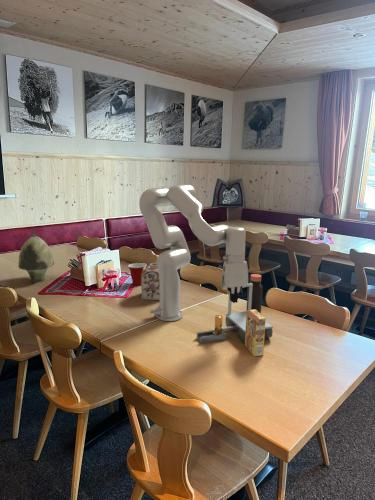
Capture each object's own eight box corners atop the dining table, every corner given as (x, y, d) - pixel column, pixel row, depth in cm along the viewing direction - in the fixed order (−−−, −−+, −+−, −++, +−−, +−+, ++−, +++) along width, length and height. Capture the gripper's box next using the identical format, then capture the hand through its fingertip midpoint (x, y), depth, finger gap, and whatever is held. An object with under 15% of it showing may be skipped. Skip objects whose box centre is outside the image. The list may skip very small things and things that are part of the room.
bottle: (263, 315, 175) (266, 275, 171) (255, 319, 170) (258, 278, 166) (251, 311, 180) (253, 272, 175) (243, 315, 175) (245, 275, 170)
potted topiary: (32, 277, 230) (26, 230, 226) (61, 277, 227) (56, 228, 223) (13, 285, 211) (7, 233, 207) (45, 284, 208) (39, 231, 204)
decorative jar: (166, 293, 203) (167, 261, 198) (163, 300, 191) (163, 267, 187) (145, 291, 204) (145, 260, 199) (140, 299, 193) (140, 266, 188)
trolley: (244, 344, 147) (247, 300, 143) (224, 326, 164) (226, 285, 159) (272, 340, 152) (275, 296, 147) (250, 322, 168) (252, 282, 163)
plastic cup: (139, 279, 224) (139, 260, 221) (150, 284, 216) (150, 264, 213) (124, 283, 216) (124, 264, 213) (135, 288, 209) (135, 268, 206)
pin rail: (201, 343, 148) (201, 337, 147) (196, 338, 152) (196, 332, 152) (226, 339, 151) (226, 333, 151) (220, 334, 156) (221, 328, 155)
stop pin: (215, 337, 150) (215, 318, 148) (212, 334, 153) (212, 315, 151) (238, 333, 154) (239, 315, 152) (234, 330, 157) (235, 312, 155)
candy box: (263, 355, 139) (266, 318, 136) (253, 357, 138) (256, 319, 135) (253, 344, 148) (256, 308, 144) (243, 345, 147) (246, 309, 143)
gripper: (222, 262, 141) (221, 307, 145) (256, 258, 146) (254, 302, 150) (214, 257, 148) (213, 300, 152) (247, 254, 153) (245, 296, 157)
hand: (233, 301), depth 151 cm, fingers closed
